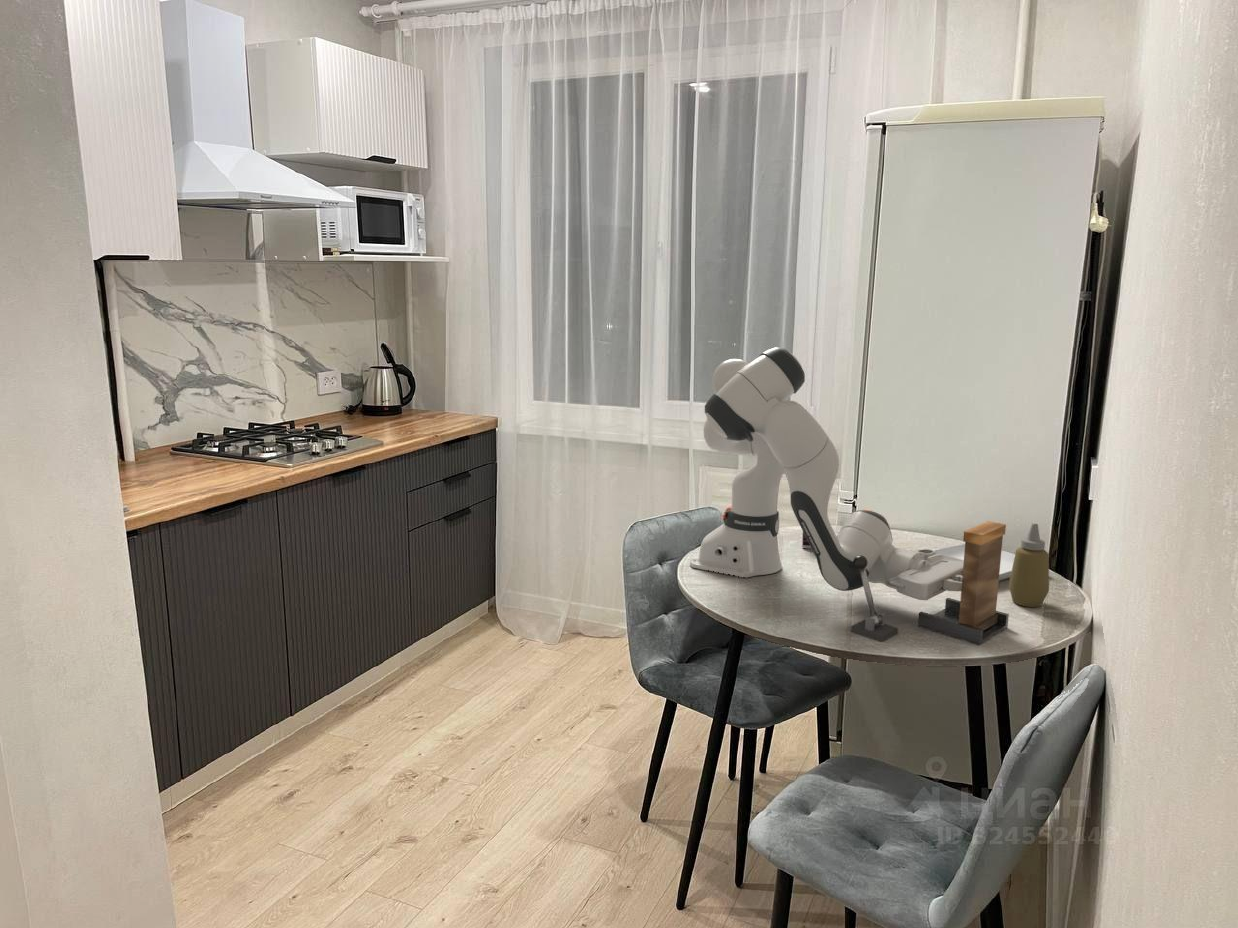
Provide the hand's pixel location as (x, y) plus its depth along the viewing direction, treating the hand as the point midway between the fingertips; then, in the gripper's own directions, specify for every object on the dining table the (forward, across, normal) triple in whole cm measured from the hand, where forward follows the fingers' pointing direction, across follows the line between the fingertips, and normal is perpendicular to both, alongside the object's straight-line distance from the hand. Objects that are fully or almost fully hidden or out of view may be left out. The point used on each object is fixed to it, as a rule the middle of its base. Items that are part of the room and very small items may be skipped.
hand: (971, 587), depth 178 cm
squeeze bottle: (+2, +24, +9) cm, 25 cm away
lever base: (-12, -15, +9) cm, 22 cm away
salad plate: (-16, +38, +10) cm, 42 cm away
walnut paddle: (+2, 0, +8) cm, 8 cm away
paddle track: (-1, 0, +9) cm, 9 cm away
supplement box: (-56, +26, +9) cm, 63 cm away
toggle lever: (-12, -15, +6) cm, 21 cm away
